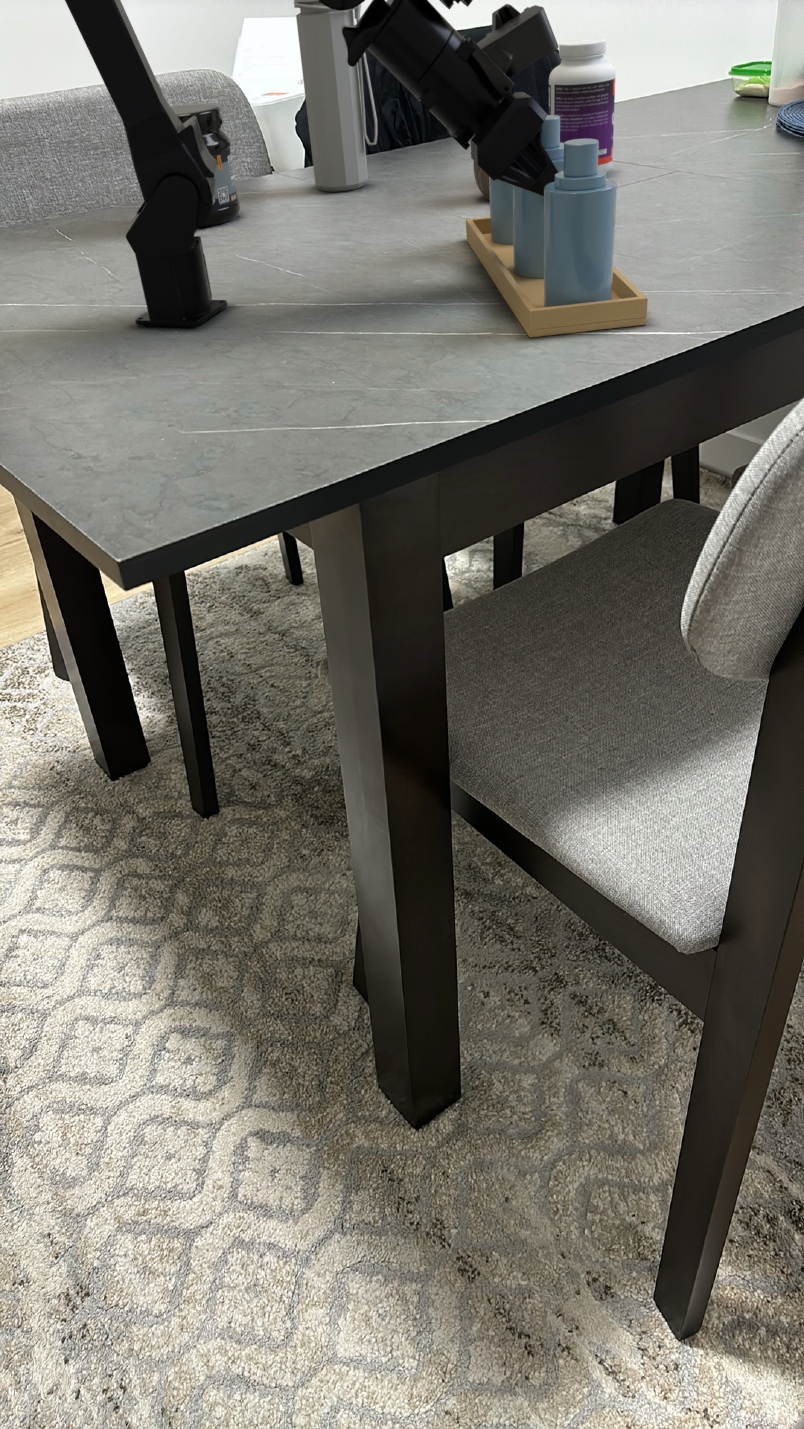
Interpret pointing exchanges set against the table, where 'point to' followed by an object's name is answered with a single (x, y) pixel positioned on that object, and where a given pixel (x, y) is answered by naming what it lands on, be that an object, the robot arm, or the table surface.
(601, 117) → the pill bottle
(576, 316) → the tray
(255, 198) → the table surface
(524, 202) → the loose bottle
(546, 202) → the bottle
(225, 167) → the supplement container
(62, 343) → the table surface
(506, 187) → the bottle
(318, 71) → the water bottle
